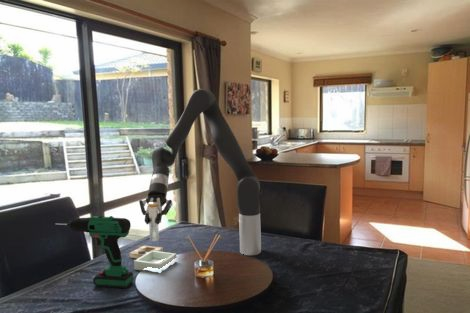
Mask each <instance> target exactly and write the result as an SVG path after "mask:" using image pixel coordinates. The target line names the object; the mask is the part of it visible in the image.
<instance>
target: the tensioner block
mask: <svg viewBox="0 0 470 313" xmlns="http://www.w3.org/2000/svg"><path fill="white" fill-rule="evenodd" d="M150 251H159V252H164V251H163V247H160V246H150V245H142V246H140V247H138V248H137V249H135V250H133V251H130V252H129V258H130V259H131V258H132V259H138V258H140V257H141V256H143V255H145V254H147V253H148V252H150Z"/></svg>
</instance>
